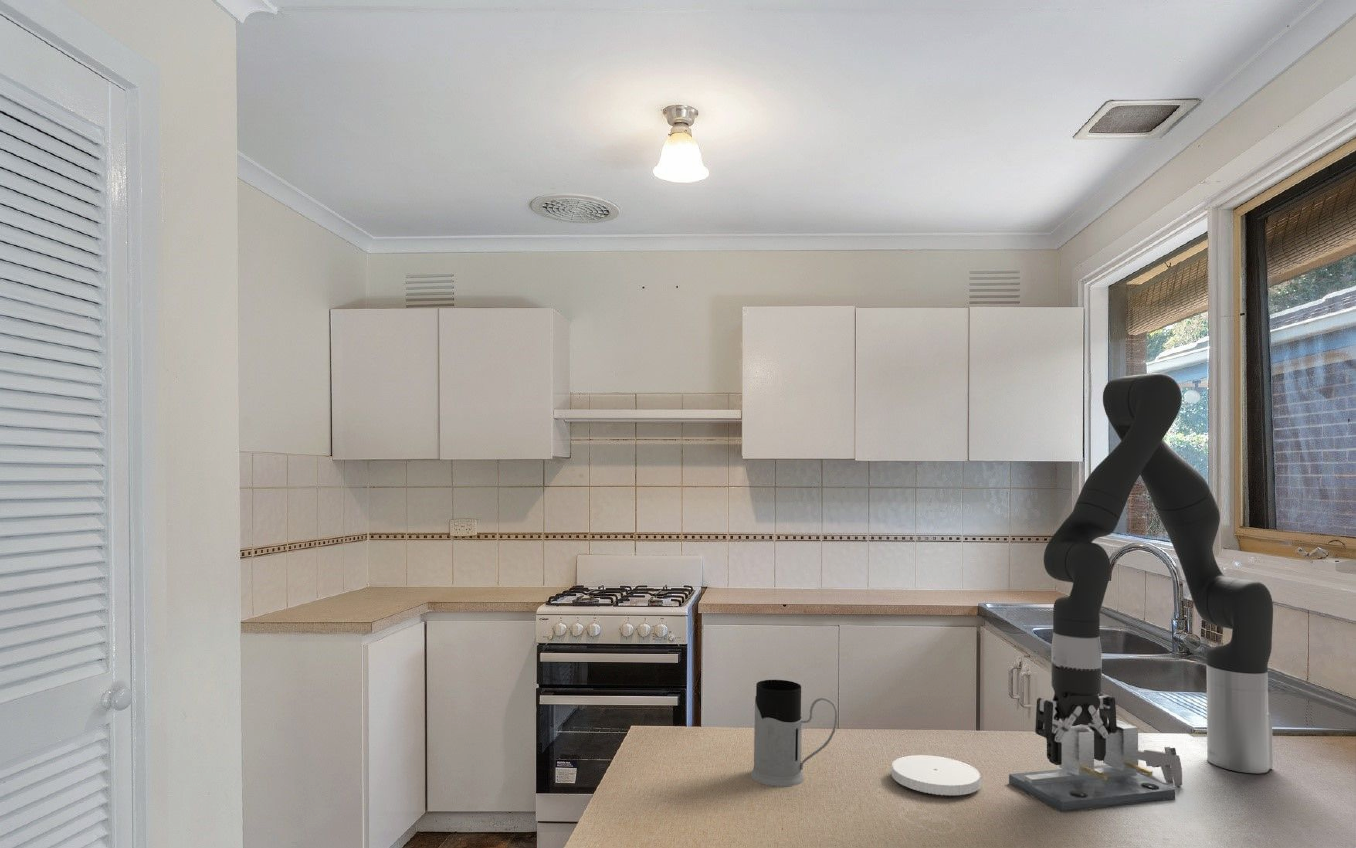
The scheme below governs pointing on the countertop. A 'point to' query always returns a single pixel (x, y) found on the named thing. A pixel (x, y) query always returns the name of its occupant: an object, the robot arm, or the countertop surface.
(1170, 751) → the caliper
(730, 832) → the countertop surface
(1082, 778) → the hole plate
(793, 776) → the glass holder
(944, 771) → the plastic lid
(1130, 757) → the fixed leg
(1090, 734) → the leg
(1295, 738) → the countertop surface
